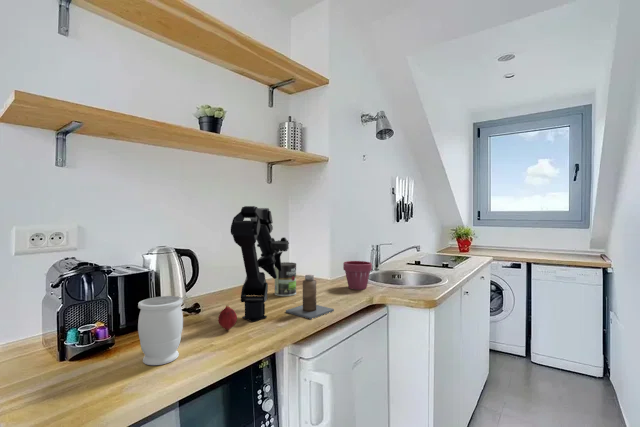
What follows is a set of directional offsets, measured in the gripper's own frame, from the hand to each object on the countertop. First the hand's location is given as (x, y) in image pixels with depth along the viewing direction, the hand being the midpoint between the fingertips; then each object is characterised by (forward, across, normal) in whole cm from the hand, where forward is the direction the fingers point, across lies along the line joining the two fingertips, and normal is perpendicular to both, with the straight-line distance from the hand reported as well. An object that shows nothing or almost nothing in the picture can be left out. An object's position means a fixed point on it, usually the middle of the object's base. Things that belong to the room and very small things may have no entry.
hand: (278, 274), depth 131 cm
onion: (+5, -30, +12) cm, 32 cm away
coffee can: (+15, +19, +7) cm, 25 cm away
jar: (-2, -51, +20) cm, 55 cm away
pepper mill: (+15, -8, -9) cm, 19 cm away
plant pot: (+28, +34, -25) cm, 50 cm away
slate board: (+16, -8, -9) cm, 20 cm away
